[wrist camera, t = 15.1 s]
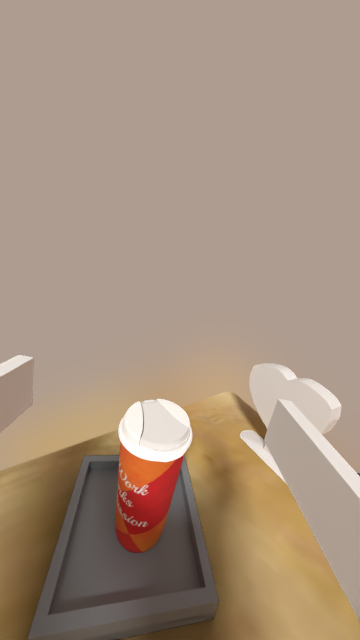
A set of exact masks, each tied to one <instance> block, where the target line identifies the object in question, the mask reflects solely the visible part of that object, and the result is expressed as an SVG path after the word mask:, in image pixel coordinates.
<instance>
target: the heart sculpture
mask: <svg viewBox="0 0 360 640" xmlns="http://www.w3.org/2000/svg"><path fill="white" fill-rule="evenodd" d="M249 387H250V392H251V397H252V400H253V403H254V405H255V407H256V410H257V412H258V414H259V415H260V417H261V419H262V421H263V423H264V424H265V426H266V428H267V429H268V426H269V423H270V420H271V418H272V415H273V412H274V409H275V406H276V403H277V400H278V399H282V400H288V401H292V403H293V404H294V405H295V406H296V407H297V408H298V409H299V410H300V411H301V412H302V414H303V415H304V416H305V417H306V418H307V419H308V420H309V421H310V422H311V423H312V425H313V426H314V427H315V428H316V429H317V430H318V431H319V432H320V433H321V434H324V433H326V432H328V431H330V430H331V429H332V428H333V427H334V425H335V424H336V422H337V421H338V419H339V418H340V412H341V404H340V403H339V401H338V400H337V398H336V397H335V396H334V395H333V394H332V393H331V392H329V391H328V390H327V389H326V388H324V387H323V386H322V385H320V384H319V383H317V382H315V381H313V380H312V379H307V378H299V379H298V378H297V377H296V376H295V374H294V373H293V372H292V371H291V370H290V369H289V368H287V367H284V366H282V365H278V364H272V363H267V364H258V365H255V366H254V367H253V369H252V372H251V374H250V382H249ZM240 437H241V438H242V439H243V440H244V441H245V443H246V444H247V445H248V446H249V447H250V448H251V449H252V450H253V451H254V452H255V453H256V454H257V455H258V456H259V457H260V458H261V459H262V460H263V461H264V462H265V463H266V464H267V465H268V466H269V467H270V468H271V469H272V470H273V471H274V472H275V473H276V474H277V475H278V476H279V477H280V478H281V479H282V480H283V481H284V482H285V480H284V478H283V476H282V474H281V472H280V470H279V468H278V466H277V464H276V463H275V461H274V459H273V457H272V455H271V453H270V451H269V449H268V447H267V445H266V444H265V442H264V439H263V438H261V437H260V436H259V435H258V434H257V433H256V432H255V431H251V430H243V431H242V432H241V434H240ZM285 483H286V482H285ZM286 484H287V483H286Z"/></svg>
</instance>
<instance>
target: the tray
mask: <svg viewBox="0 0 360 640" xmlns="http://www.w3.org/2000/svg"><path fill="white" fill-rule="evenodd" d="M119 458H120V455H99V456H84V457H83V461H82V464H81V467H80V470H79V474H78V477H77V480H76V483H75V487H74V490H73V493H72V496H71V499H70V503H69V506H68V509H67V512H66V516H65V519H64V522H63V525H62V529H61V532H60V535H59V538H58V541H57V545H56V548H55V551H54V554H53V558H52V561H51V564H50V567H49V571H48V574H47V577H46V580H45V583H44V587H43V590H42V593H41V596H40V600H39V603H38V606H37V609H36V613H35V616H34V619H33V622H32V625H31V629H30V632H29V635H28V638H27V640H118V639H123V638H128V637H132V636H137V635H141V634H146V633H151V632H155V631H160V630H165V629H169V628H174V627H178V626H183V625H188V624H192V623H197V622H202V621H206V620H211V619H214V615H215V612H216V609H217V606H218V603H219V599H218V595H217V591H216V587H215V583H214V578H213V574H212V570H211V566H210V561H209V557H208V553H207V549H206V545H205V540H204V536H203V532H202V528H201V524H200V519H199V515H198V511H197V507H196V502H195V498H194V494H193V490H192V486H191V481H190V477H189V473H188V469H187V465H186V460H185V456H184V458H183V462H182V465H181V469H180V472H179V476H178V479H177V483H176V486H175V490H174V493H173V497H172V500H171V504H170V507H169V511H168V514H167V518H166V521H165V524H164V527H163V530H162V533H161V535H160V538H159V539H158V541H157V542H156V544H155V545H154V546H153V547H152V548H151V549H149V550H147V551H145V552H142V553H133V552H130V551H128V550H126V549H125V548H124V547H123V546H122V545H121V544H120V542H119V540H118V538H117V535H116V528H115V520H116V501H117V486H118V472H119Z"/></svg>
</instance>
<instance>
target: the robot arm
mask: <svg viewBox="0 0 360 640" xmlns="http://www.w3.org/2000/svg"><path fill="white" fill-rule="evenodd" d="M33 368H34V358H33V357H28V356H22V355H18V356H16V357H14V358H12V359H10V360H8V361H6V362H4V363H2V364H0V432H1V431H2V430H4V429H5V428H6V427H7V426H8V425H9V424H10V423H11V422H13V421H14V420H15V419H16V418H17V417H18V416H19V415H20V414H22V413H23V412H24V411H25V410H26V409H27V408H28V407H29V406H31V405H32V394H33ZM264 442H265V444H266V445H267V447H268V449H269V451H270V453H271V455H272V457H273V459H274V461H275V463H276V464H277V466H278V468H279V470H280V472H281V474H282V476H283V478H284V480H285V482H286V483H287V485H288V487H289V489H290V491H291V493H292V495H293V497H294V499H295V501H296V502H297V504H298V506H299V508H300V510H301V512H302V514H303V516H304V518H305V519H306V521H307V523H308V525H309V527H310V529H311V531H312V533H313V535H314V537H315V538H316V540H317V542H318V544H319V546H320V548H321V550H322V552H323V554H324V556H325V557H326V559H327V561H328V563H329V565H330V567H331V569H332V571H333V573H334V575H335V576H336V578H337V580H338V582H339V584H340V586H341V588H342V590H343V592H344V593H345V595H346V597H347V599H348V601H349V603H350V605H351V607H352V609H353V611H354V612H355V614H356V616H357V618H358V620H359V622H360V474H359V473H356V472H355V471H354V470H353V469H352V467H350V465H349V464H348V463H347V462H346V461H345V460H344V459H343V457H342V456H341V455H340V454H339V453H338V452H337V451H336V450H335V449H334V448H333V447H332V446H331V444H330V443H329V442H328V441H327V440H326V439H325V438H324V437H323V436H322V434H321V433H320V432H319V431H318V430H317V429H316V428H315V427H314V426H313V425H312V423H311V422H310V421H309V420H308V419H307V418H306V417H305V416H304V415H303V414H302V412H301V411H300V410H299V409H298V408H297V407H296V406H295V405H294V404H293V403H292V401H288V400H282V399H278V400H277V403H276V406H275V409H274V412H273V415H272V418H271V420H270V423H269V426H268V429H267V432H266V435H265V438H264Z"/></svg>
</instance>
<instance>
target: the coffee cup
mask: <svg viewBox="0 0 360 640" xmlns="http://www.w3.org/2000/svg"><path fill="white" fill-rule="evenodd" d="M118 433H119V438H120V441H121V444H120V458H119V472H118V486H117V501H116V520H115V528H116V535H117V538H118V540H119V542H120V544H121V545H122V546H123V547H124V548H125V549H126V550H128V551H130V552H133V553H142V552H145V551H147V550H149V549H151V548H152V547H153V546H154V545H155V544H156V542H157V541H158V539H159V538H160V535H161V533H162V530H163V527H164V524H165V521H166V518H167V514H168V511H169V507H170V504H171V500H172V497H173V493H174V490H175V486H176V483H177V479H178V476H179V472H180V469H181V465H182V462H183V458H184V454H185V452H186V450H187V449H188V448H189V446H190V444H191V441H192V430H191V427H190V421H189V418H188V416H187V414H186V412H185V411H184V410H183V409H182V408H181V407H179V406H178V405H176V404H174V403H173V402H170V401H167V400H163V399H157V400H155V401H154V400H145V401H144V402H141V403H140V401H139V402H136V403H135V404H133V405H132V406H131V407H130V408H129V409H128V410H127V412H126V414H125V416H124V417H123V418H122V420H121V422H120V424H119V429H118Z"/></svg>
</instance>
